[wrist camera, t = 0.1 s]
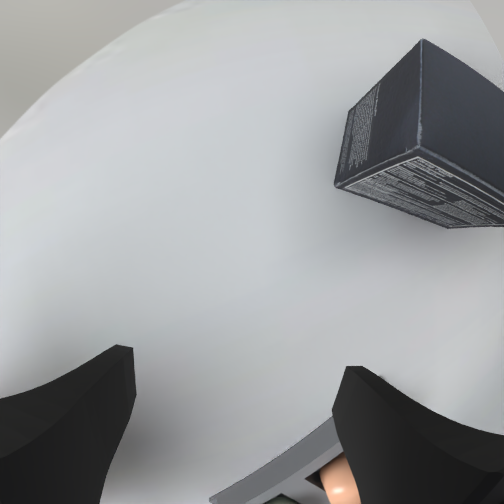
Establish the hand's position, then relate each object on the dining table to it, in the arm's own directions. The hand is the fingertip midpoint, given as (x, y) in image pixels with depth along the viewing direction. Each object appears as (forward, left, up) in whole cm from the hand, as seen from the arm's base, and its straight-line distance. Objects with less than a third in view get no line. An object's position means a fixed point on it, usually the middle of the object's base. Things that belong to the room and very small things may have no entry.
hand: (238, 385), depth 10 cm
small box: (+16, -1, -11) cm, 19 cm away
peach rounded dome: (-3, -15, -8) cm, 18 cm away
